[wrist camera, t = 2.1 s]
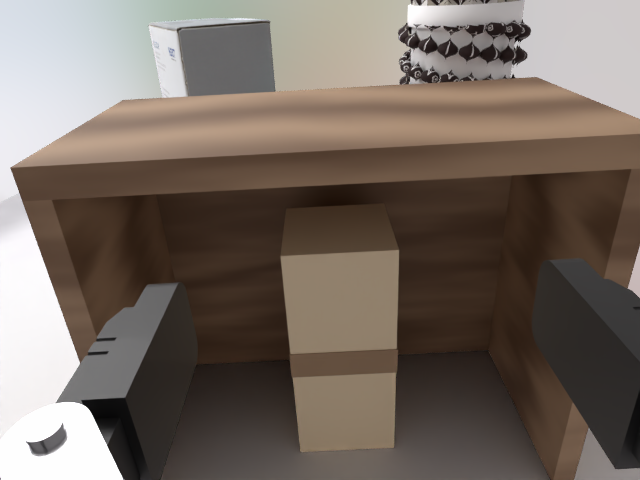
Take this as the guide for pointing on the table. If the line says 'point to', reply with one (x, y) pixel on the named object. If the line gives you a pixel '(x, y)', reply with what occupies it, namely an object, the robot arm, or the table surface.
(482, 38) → the decorative candle
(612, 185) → the cubby
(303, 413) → the block
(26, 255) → the table surface
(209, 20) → the hard drive box
